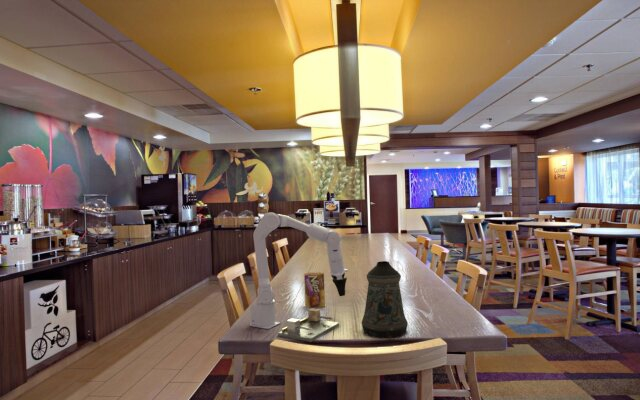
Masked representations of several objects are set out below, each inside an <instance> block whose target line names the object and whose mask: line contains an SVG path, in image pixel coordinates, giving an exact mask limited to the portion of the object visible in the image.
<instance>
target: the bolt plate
mask: <svg viewBox="0 0 640 400" xmlns="http://www.w3.org/2000/svg"><path fill="white" fill-rule="evenodd" d="M299 320H300V326H303V327H309V328H312V330H306V329H300V331H298V332H296V333H292V332H287V326H286V327H283V328H281V331H279V332H277V336H278V337H283V338H287V339H291V340H292V339H293V340H296V341H297V340H298V341H302V342H308V343H312V342H314V341H315V340H317V339H319V338H320V337H322V336H324V335H326V334H328V333H330V332H331V331H333V330H334V329H336V328H338V327H340V322H337V321H331V320H326V319H325V320H324V319H320V320H318V321H310V320H309V318H308V316H306V317H304V318H302V319H299Z"/></svg>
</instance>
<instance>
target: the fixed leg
mask: <svg viewBox="0 0 640 400" xmlns="http://www.w3.org/2000/svg"><path fill="white" fill-rule="evenodd" d="M300 320H301V319H297V318H292V317H291V318H289V319H288V320H286V327H287V332H292V333H296V332H298V331H300V329H306V330H312V328H309V327H303V326H300Z"/></svg>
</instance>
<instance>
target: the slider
mask: <svg viewBox="0 0 640 400" xmlns="http://www.w3.org/2000/svg"><path fill="white" fill-rule="evenodd" d="M307 312H308V315H307V317H308V318H309V320H310V321H318V320H321V319H322V320H324V319H325V320H329V321H331V320H333V318H332V317H331V316H330V317H329V316H324V315H321V309H320V308H315V307H311V308H309V309H308V311H307Z"/></svg>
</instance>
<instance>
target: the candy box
mask: <svg viewBox="0 0 640 400" xmlns="http://www.w3.org/2000/svg"><path fill="white" fill-rule="evenodd" d="M303 280H304V301H305V302H304V306H305V307H306V309H312V308H321V307H326V294H325V293H326V292H325V291H326V290H325V273H324V271H312V272H309V271H308V272H303Z"/></svg>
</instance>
